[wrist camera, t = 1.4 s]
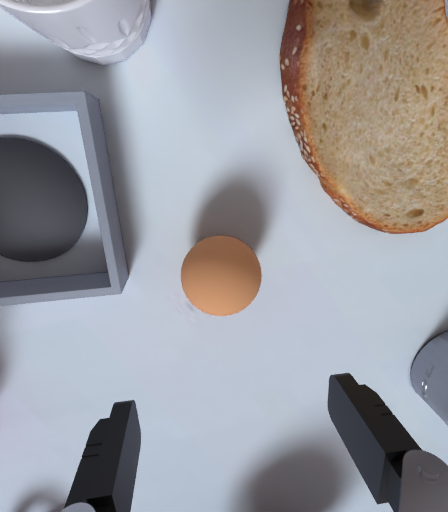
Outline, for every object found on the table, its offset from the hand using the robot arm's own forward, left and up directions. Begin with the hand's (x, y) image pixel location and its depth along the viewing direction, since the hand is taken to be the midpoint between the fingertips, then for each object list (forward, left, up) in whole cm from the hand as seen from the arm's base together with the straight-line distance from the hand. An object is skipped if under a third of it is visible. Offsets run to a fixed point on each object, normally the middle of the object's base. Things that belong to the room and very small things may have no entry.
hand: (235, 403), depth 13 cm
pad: (+13, -7, -14) cm, 21 cm away
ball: (-1, -1, -12) cm, 12 cm away
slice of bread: (-14, -12, -15) cm, 24 cm away
